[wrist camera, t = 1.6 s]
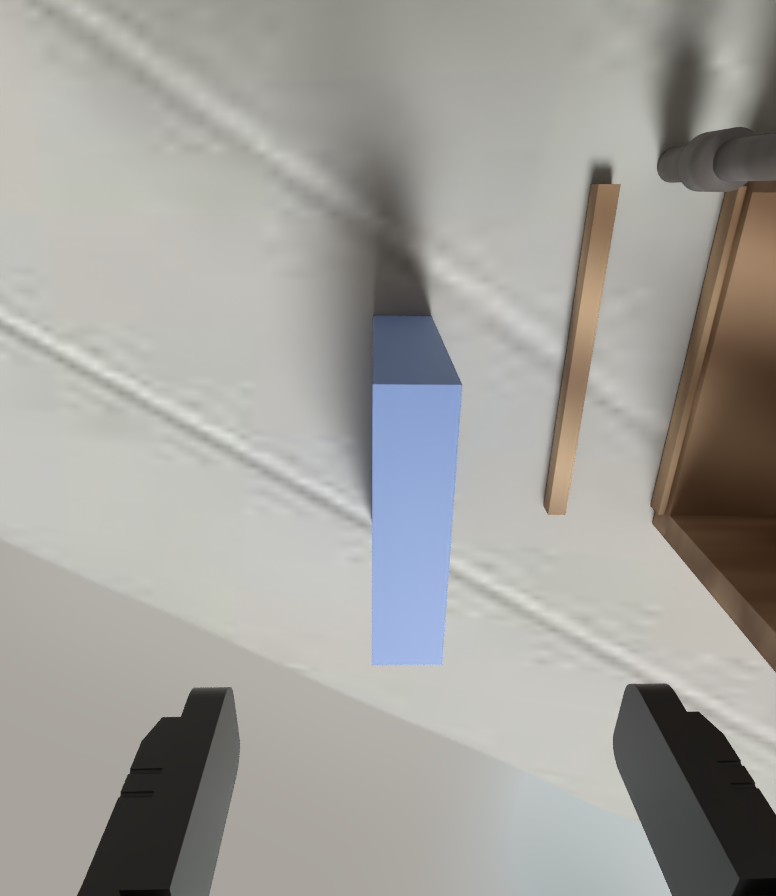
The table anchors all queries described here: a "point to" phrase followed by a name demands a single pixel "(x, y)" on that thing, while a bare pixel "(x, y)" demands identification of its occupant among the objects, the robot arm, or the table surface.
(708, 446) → the cabinet
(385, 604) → the blue rectangular block
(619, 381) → the table surface
